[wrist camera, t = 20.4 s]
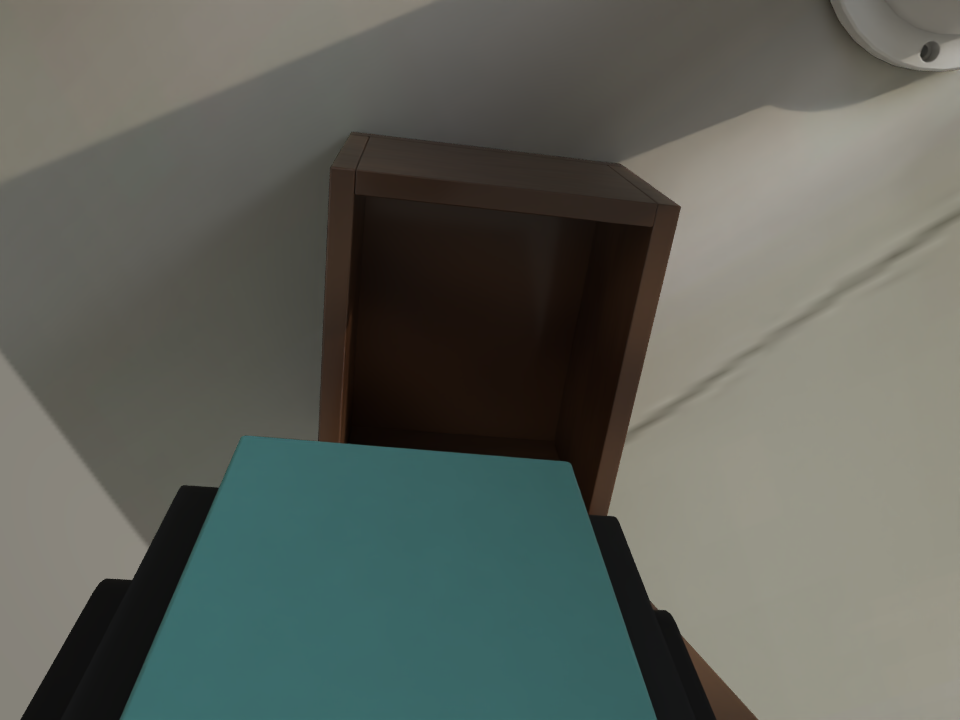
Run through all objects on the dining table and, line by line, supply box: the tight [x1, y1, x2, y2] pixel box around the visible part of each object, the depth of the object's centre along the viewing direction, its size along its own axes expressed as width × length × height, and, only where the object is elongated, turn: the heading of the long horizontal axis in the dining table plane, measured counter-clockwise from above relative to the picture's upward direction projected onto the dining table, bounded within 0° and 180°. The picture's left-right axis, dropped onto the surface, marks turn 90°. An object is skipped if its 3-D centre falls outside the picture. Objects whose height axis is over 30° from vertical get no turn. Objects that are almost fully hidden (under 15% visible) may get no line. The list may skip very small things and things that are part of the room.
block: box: [120, 436, 657, 720], centre depth 9 cm, size 4×4×4 cm
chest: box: [318, 132, 681, 516], centre depth 34 cm, size 16×13×9 cm
